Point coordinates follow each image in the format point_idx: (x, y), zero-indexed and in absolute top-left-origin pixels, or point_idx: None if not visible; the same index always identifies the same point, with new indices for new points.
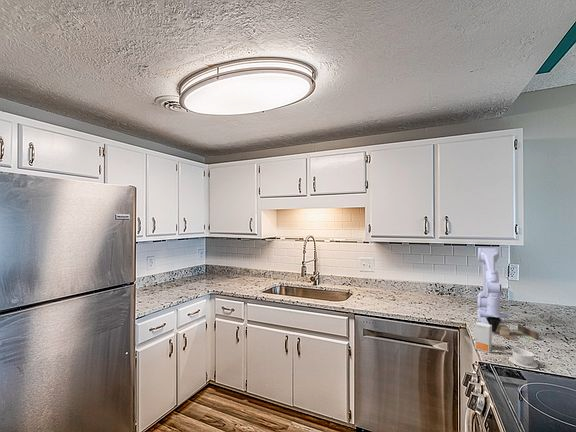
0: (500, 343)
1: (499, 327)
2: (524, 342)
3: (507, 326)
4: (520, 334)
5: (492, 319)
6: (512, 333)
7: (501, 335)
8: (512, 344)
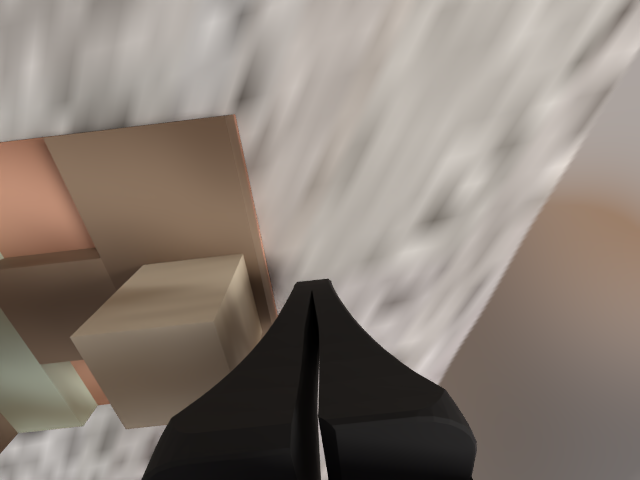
0: (340, 23)
1: (230, 339)
2: (6, 141)
3: (91, 369)
4: (3, 314)
5: (411, 452)
6: None
7: (244, 234)
8: (181, 16)
